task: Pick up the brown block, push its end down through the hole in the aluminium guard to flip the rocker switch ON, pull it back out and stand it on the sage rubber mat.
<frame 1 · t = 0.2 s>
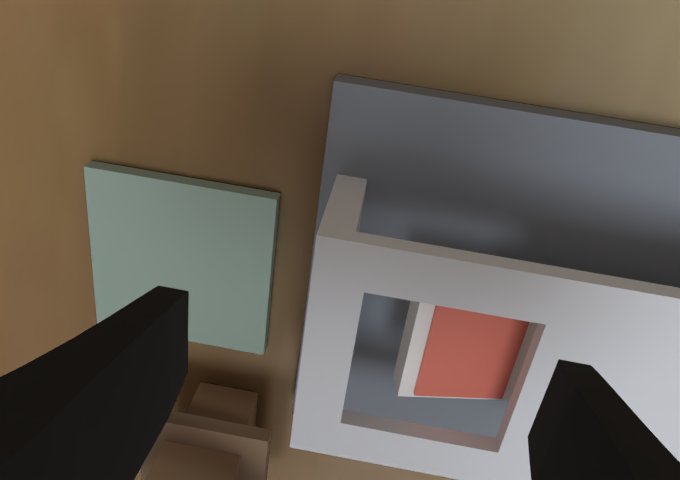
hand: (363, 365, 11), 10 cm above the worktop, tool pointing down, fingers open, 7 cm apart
mat: (185, 259, 23), on the worktop
breaker housing: (525, 297, 22), on the worktop
brown block: (228, 409, 26), on the worktop
rocker switch: (540, 346, 19), point 3 cm above the worktop, hinge at 12.0°
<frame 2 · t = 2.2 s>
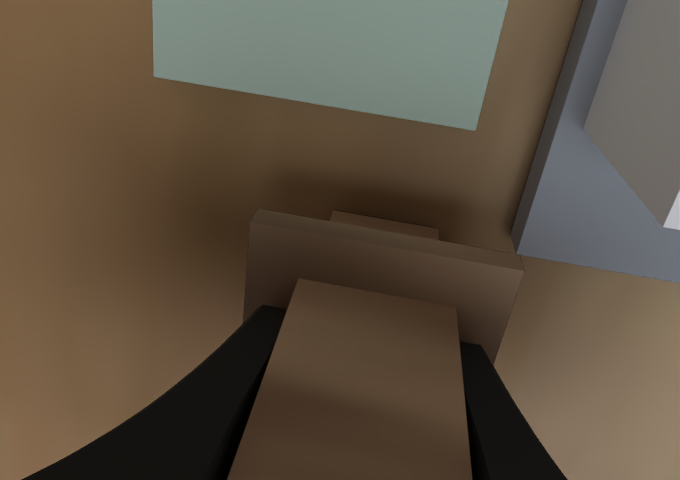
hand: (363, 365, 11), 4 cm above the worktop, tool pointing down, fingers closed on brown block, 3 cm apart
brown block: (376, 264, 15), on the worktop, touching gripper
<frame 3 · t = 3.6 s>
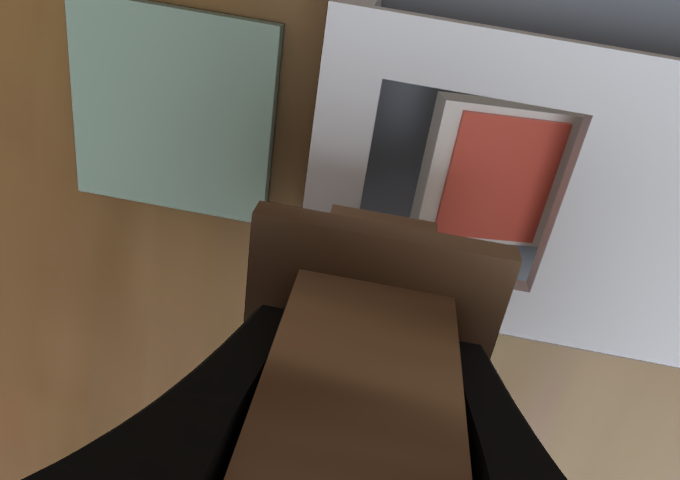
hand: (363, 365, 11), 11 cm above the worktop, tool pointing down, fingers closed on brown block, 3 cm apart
mat: (176, 111, 21), on the worktop
breaker housing: (555, 149, 20), on the worktop
brown block: (376, 258, 15), point 6 cm above the worktop, touching gripper
rocker switch: (576, 182, 17), point 3 cm above the worktop, hinge at 12.0°
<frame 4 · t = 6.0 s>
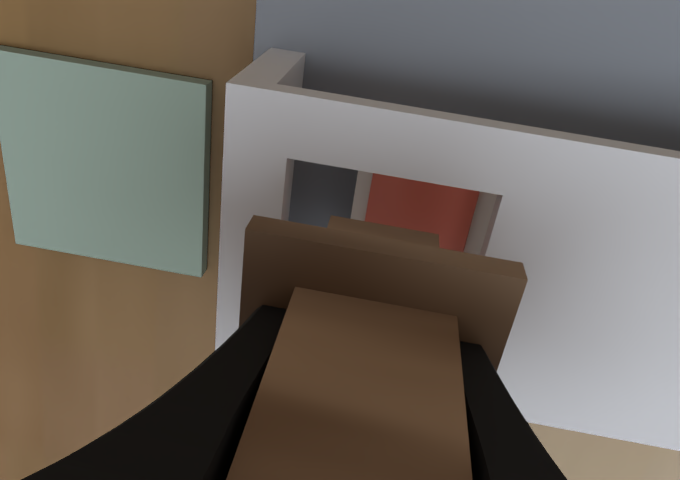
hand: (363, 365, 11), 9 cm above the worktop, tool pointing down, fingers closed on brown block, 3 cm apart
mat: (110, 165, 20), on the worktop
breaker housing: (492, 204, 19), on the worktop
brown block: (375, 270, 15), point 5 cm above the worktop, touching gripper
rocker switch: (503, 247, 17), point 3 cm above the worktop, hinge at -15.8°
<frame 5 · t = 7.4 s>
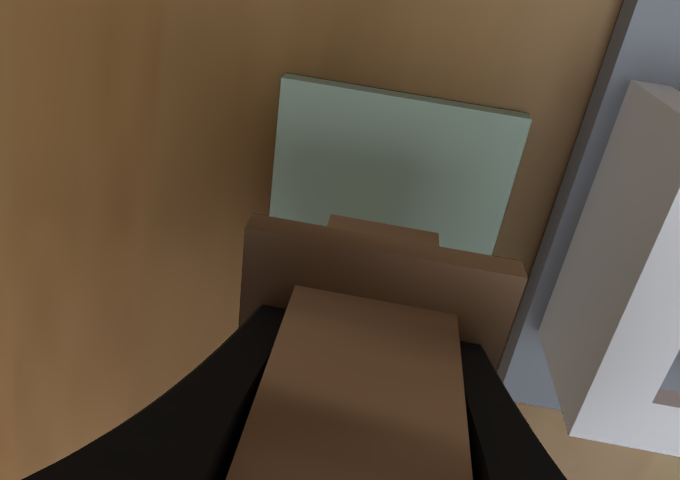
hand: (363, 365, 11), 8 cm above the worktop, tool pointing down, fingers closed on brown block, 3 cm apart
mat: (385, 203, 18), on the worktop
brown block: (375, 269, 15), point 4 cm above the worktop, touching gripper
when the fingers open (6 cm above the worktop, at t = 8.1 s): brown block drops 1 cm, resting on mat.
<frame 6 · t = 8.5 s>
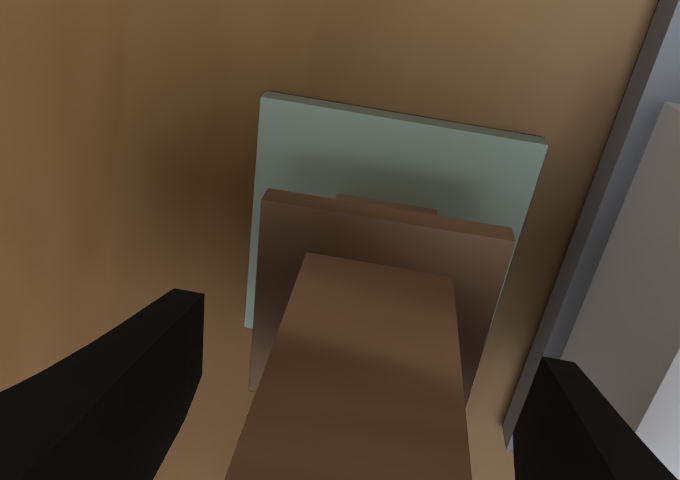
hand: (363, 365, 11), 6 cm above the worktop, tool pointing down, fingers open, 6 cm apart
mat: (380, 236, 16), on the worktop
brown block: (378, 245, 16), point 1 cm above the worktop, touching mat
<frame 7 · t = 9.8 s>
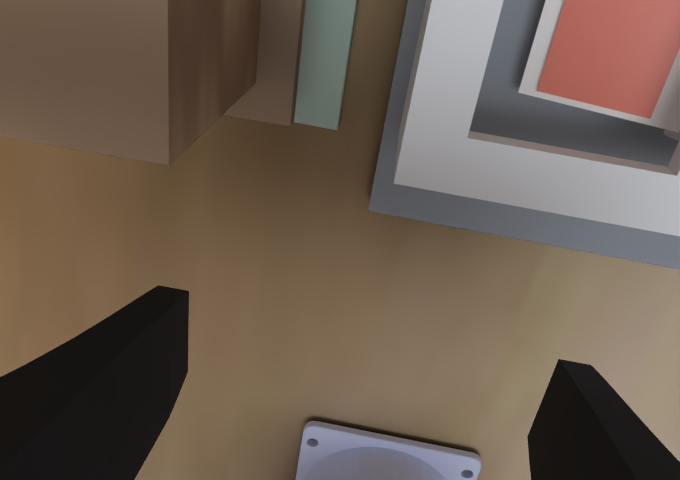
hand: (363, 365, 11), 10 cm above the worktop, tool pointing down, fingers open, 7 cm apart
breaker housing: (676, 36, 17), on the worktop
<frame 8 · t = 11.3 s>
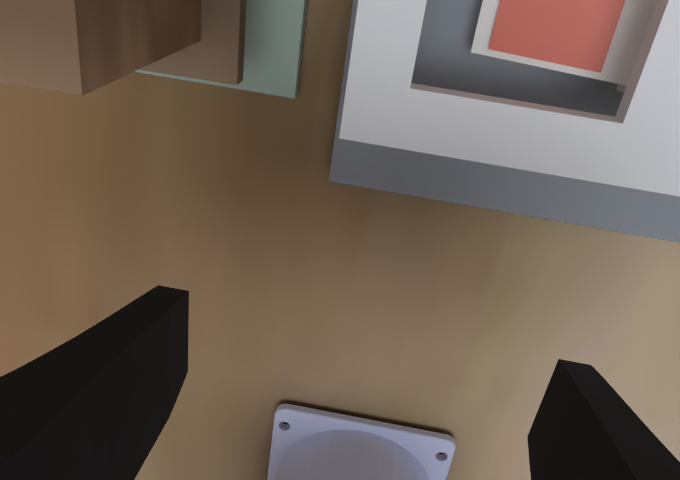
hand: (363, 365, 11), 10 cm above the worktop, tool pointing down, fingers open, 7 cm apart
rocker switch: (668, 5, 15), point 3 cm above the worktop, hinge at -18.4°
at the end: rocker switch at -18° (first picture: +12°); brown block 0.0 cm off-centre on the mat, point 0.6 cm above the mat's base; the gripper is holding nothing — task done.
